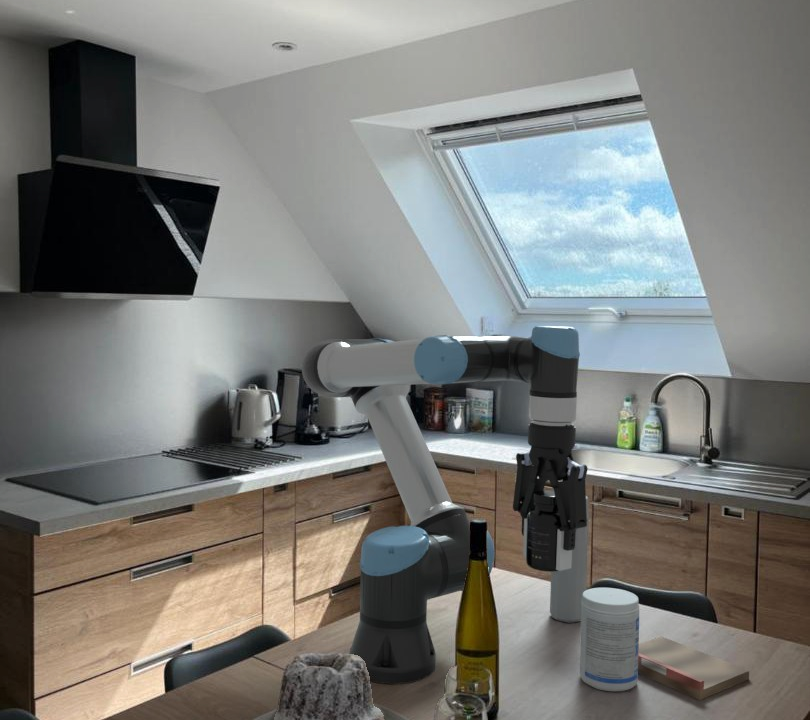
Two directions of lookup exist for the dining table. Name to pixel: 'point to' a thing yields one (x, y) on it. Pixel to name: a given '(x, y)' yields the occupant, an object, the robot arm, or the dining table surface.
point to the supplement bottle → (542, 532)
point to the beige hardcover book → (687, 668)
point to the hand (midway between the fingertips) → (546, 562)
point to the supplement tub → (609, 639)
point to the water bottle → (571, 580)
